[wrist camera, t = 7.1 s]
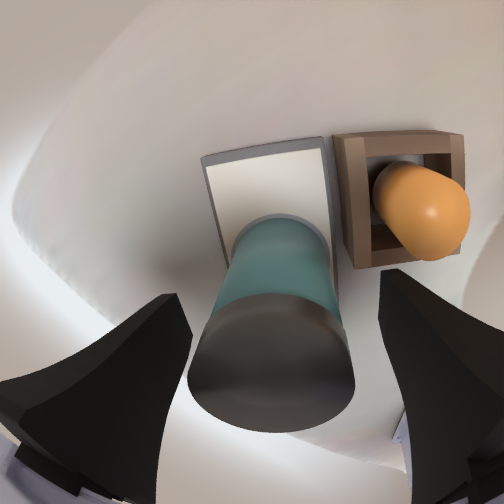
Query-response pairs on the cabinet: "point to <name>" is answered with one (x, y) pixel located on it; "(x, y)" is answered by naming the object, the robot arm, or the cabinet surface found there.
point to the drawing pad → (272, 191)
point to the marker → (274, 336)
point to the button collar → (357, 190)
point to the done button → (422, 209)
